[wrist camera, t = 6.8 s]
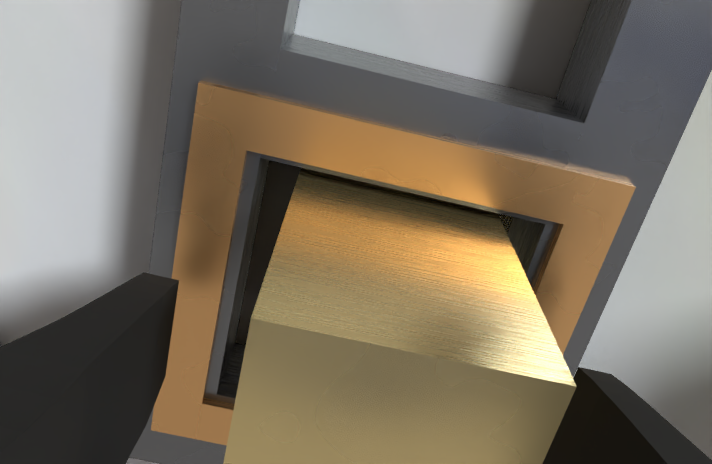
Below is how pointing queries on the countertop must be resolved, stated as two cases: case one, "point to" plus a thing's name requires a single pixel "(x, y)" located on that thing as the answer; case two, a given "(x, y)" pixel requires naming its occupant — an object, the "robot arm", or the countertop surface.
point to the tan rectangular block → (395, 338)
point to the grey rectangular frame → (404, 168)
